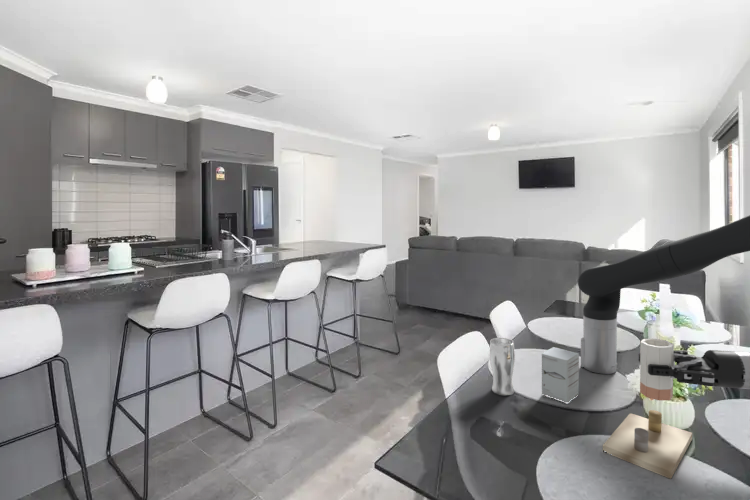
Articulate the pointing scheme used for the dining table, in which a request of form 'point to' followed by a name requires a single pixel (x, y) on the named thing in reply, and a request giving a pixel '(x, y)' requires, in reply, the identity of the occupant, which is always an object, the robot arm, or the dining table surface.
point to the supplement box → (560, 374)
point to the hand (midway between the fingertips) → (643, 363)
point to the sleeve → (659, 355)
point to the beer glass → (502, 365)
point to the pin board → (649, 443)
